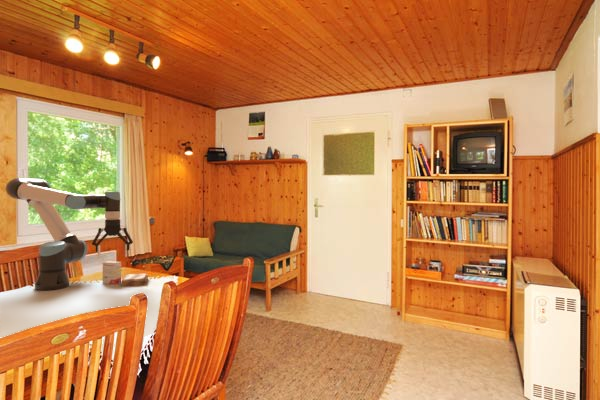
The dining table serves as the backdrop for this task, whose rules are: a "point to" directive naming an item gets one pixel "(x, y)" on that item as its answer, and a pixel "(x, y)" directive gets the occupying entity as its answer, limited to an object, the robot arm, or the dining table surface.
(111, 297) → the dining table surface
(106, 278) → the ink box
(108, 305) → the dining table surface
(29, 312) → the dining table surface
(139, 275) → the plinth
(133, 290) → the dining table surface
